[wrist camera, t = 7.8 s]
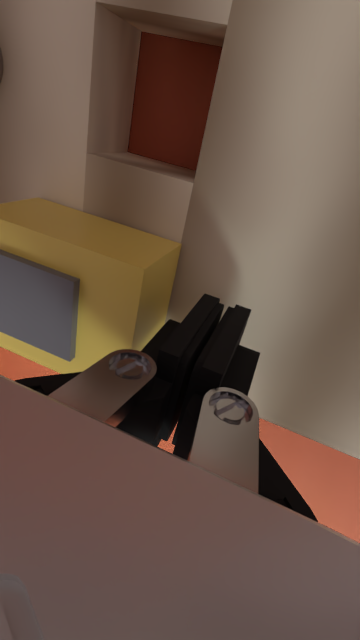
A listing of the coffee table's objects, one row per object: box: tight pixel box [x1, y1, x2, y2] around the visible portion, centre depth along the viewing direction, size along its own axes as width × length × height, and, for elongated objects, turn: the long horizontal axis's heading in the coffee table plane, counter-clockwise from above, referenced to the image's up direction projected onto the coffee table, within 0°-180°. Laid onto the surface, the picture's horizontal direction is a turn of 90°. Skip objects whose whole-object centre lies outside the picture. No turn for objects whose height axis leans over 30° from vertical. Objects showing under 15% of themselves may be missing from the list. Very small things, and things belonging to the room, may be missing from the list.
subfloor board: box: [0, 0, 360, 459], centre depth 13 cm, size 25×17×3 cm
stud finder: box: [0, 197, 182, 374], centre depth 12 cm, size 6×5×3 cm
